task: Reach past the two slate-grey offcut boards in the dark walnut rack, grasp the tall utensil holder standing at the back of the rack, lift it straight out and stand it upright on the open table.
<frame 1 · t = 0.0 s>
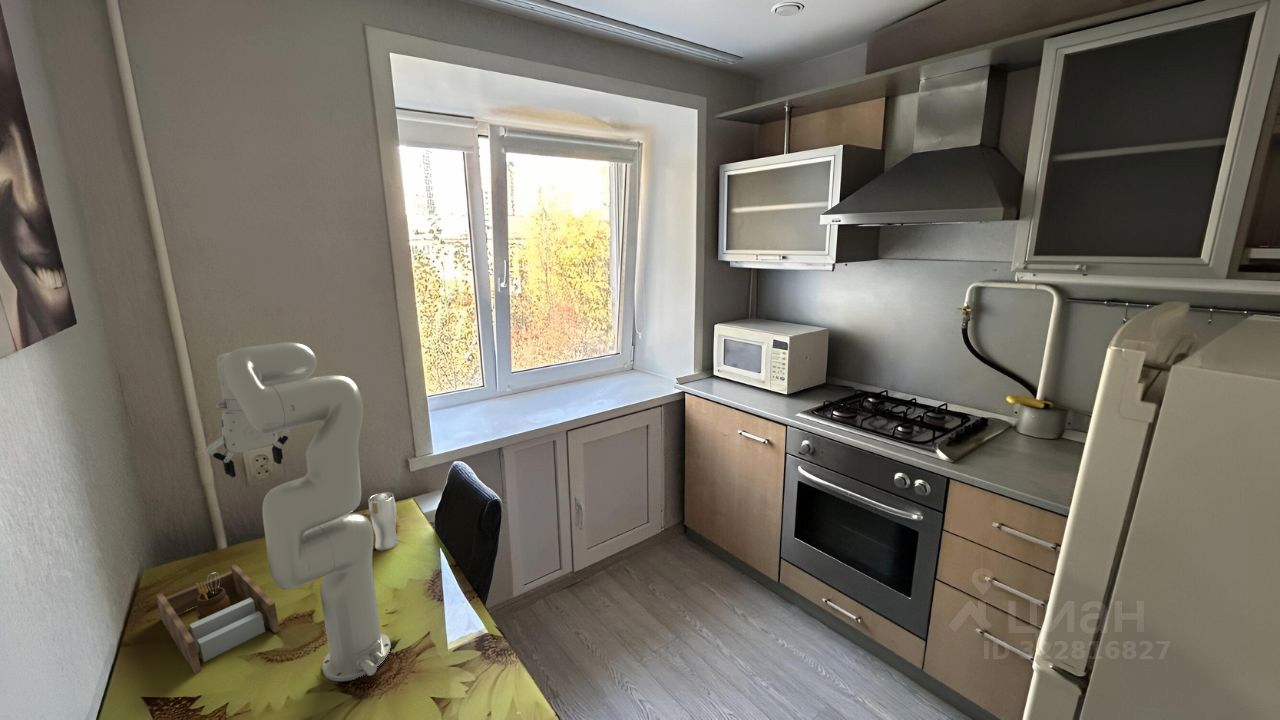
hand: (255, 469, 128), 31 cm above the table, tool pointing down, fingers open, 9 cm apart
rack: (220, 626, 118), on the table
offcut near: (227, 635, 115), on the table
utensil holder: (216, 621, 120), resting in rack
beer glass: (387, 545, 151), on the table
offcut front: (234, 644, 112), on the table
tin: (331, 531, 159), on the table
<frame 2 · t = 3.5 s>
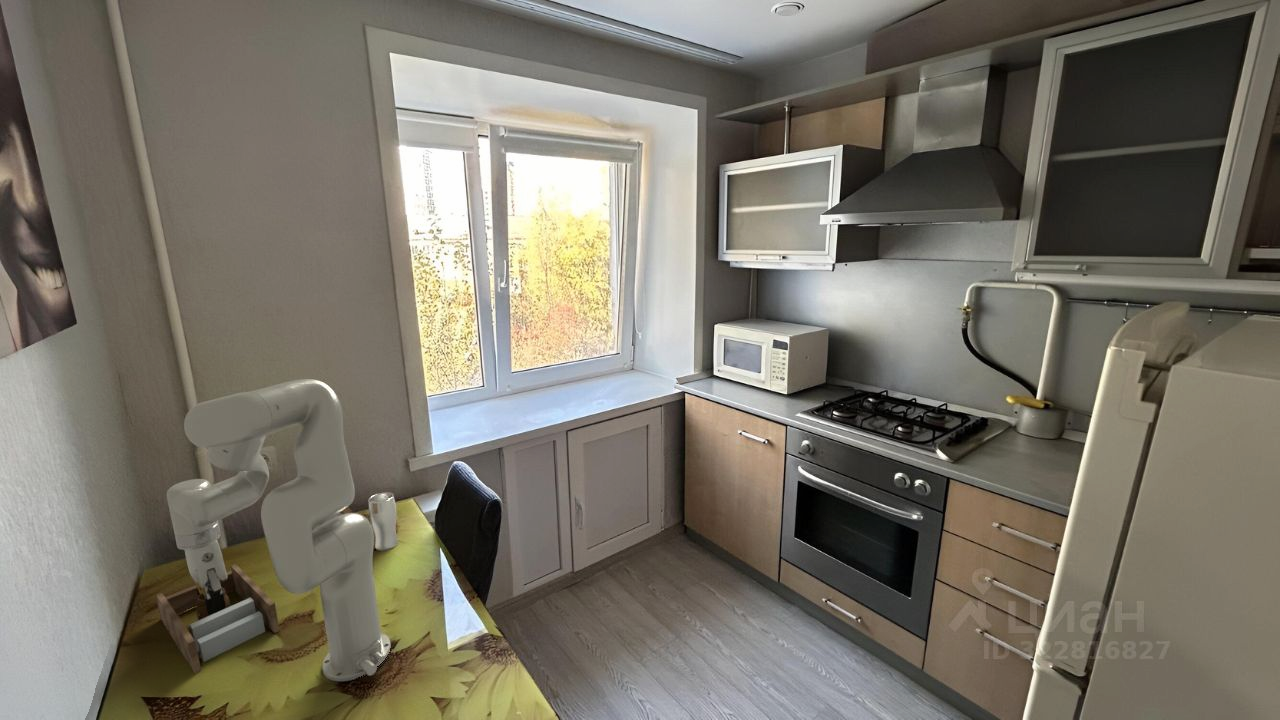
hand: (212, 605, 119), 4 cm above the table, tool pointing down, fingers closed on utensil holder, 5 cm apart
utensil holder: (216, 621, 120), resting in rack, touching gripper
everything else where it was.
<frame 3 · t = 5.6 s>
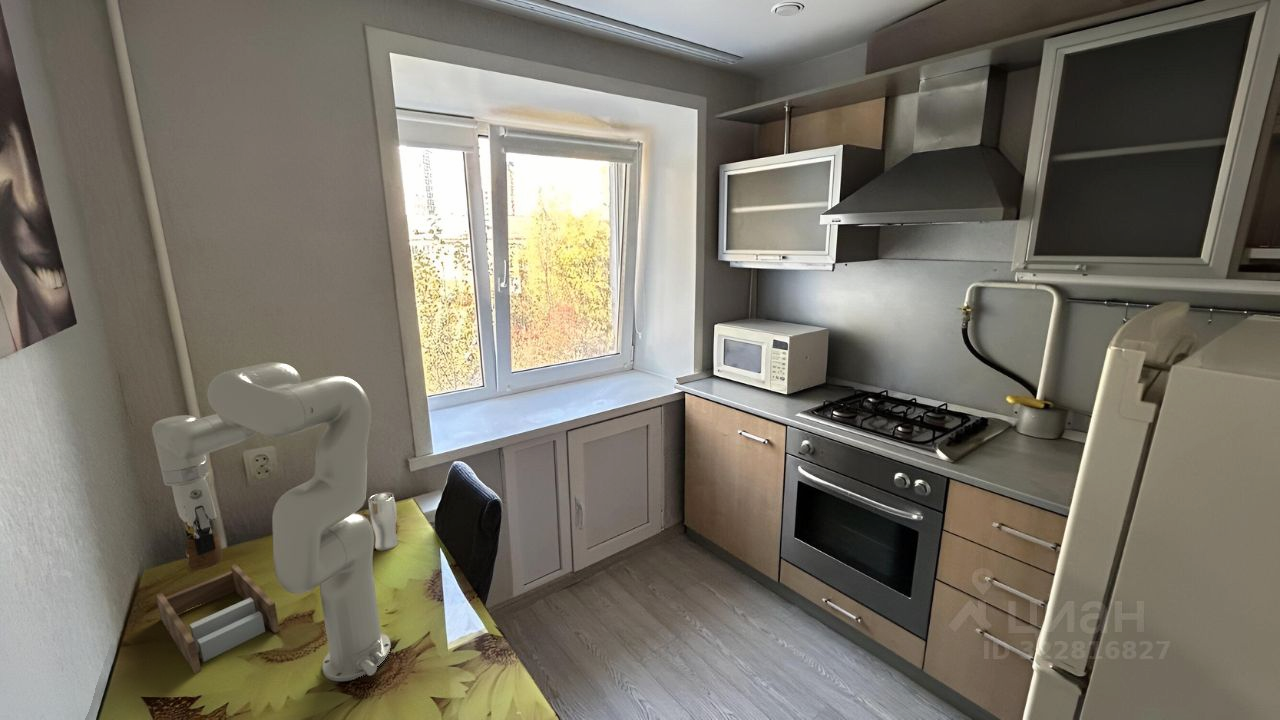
hand: (202, 547, 116), 19 cm above the table, tool pointing down, fingers closed on utensil holder, 5 cm apart
utensil holder: (206, 564, 117), point 15 cm above the table, touching gripper
everything else where it was.
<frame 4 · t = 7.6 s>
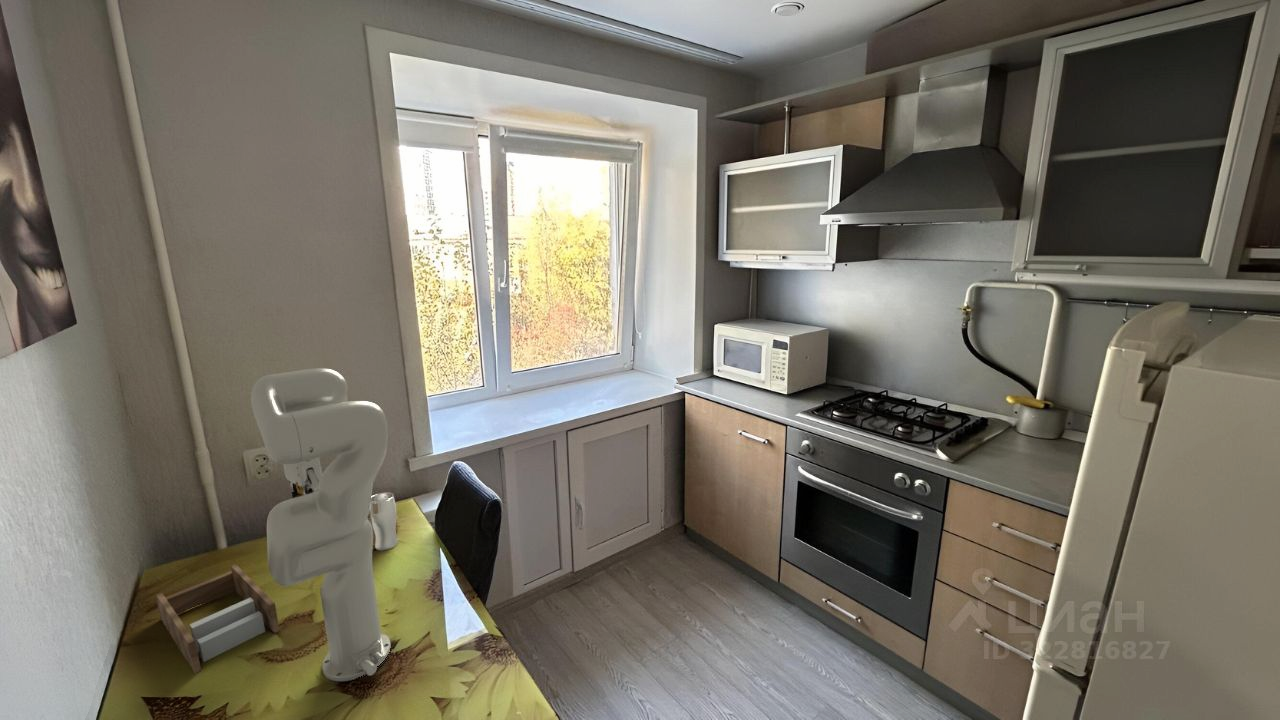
hand: (307, 507, 125), 23 cm above the table, tool pointing down, fingers closed on utensil holder, 5 cm apart
utensil holder: (310, 523, 126), point 19 cm above the table, touching gripper
everything else where it was.
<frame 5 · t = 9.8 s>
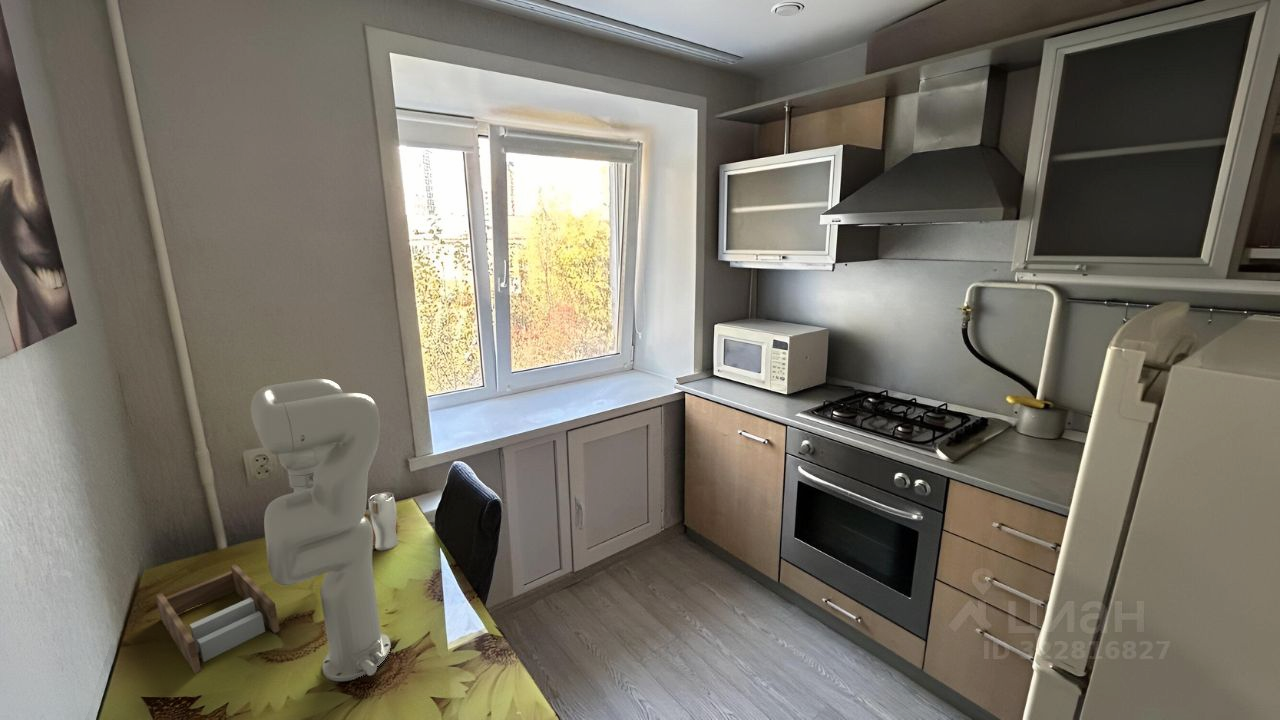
hand: (318, 543, 128), 13 cm above the table, tool pointing down, fingers closed on utensil holder, 5 cm apart
utensil holder: (321, 559, 129), point 9 cm above the table, touching gripper
everything else where it was.
when the fingers open (5 cm above the table, at t = 11.8 s): utensil holder stays where it is, on the table.
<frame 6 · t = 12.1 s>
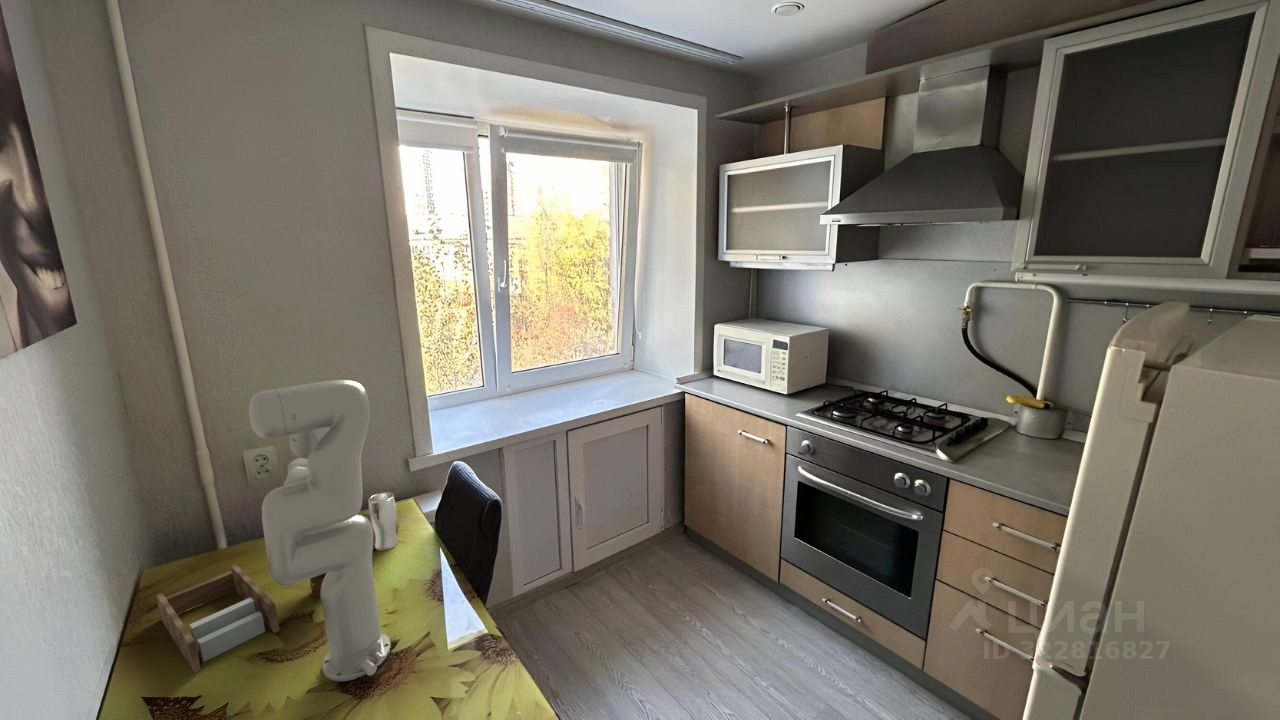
hand: (322, 570, 129), 6 cm above the table, tool pointing down, fingers open, 8 cm apart
utensil holder: (326, 591, 130), on the table
everything else where it was.
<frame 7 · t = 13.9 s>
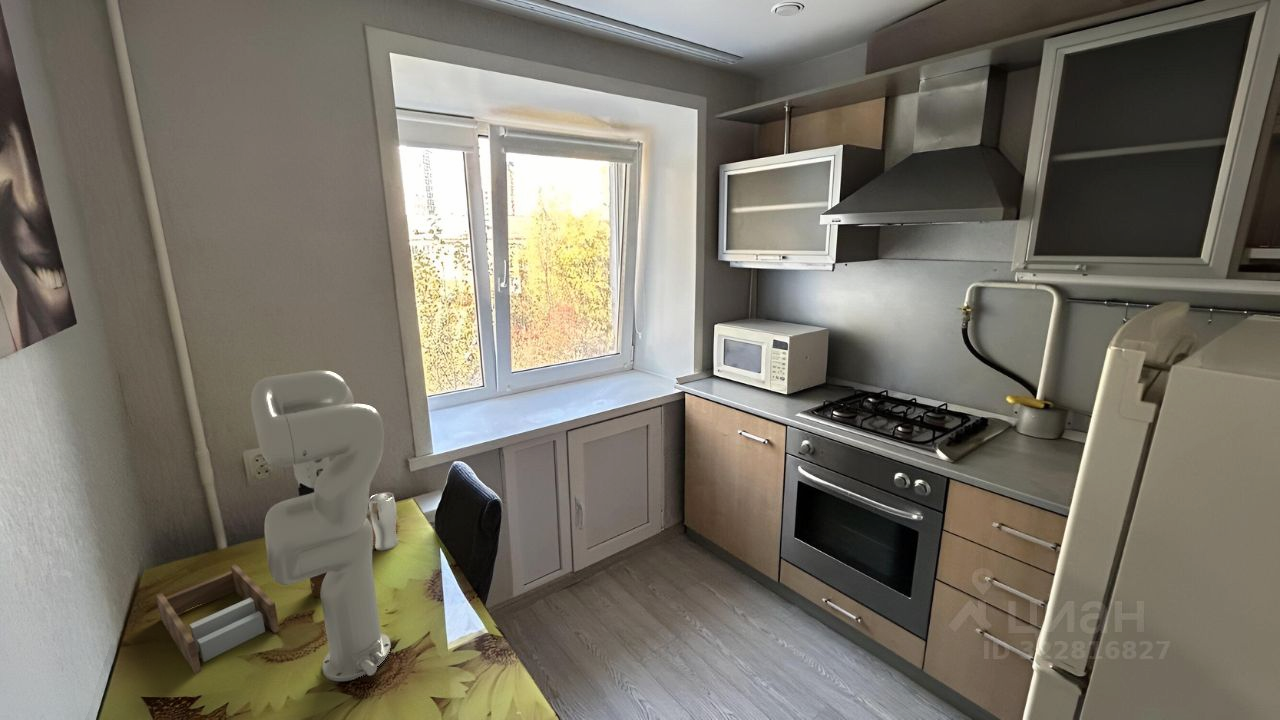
hand: (316, 505, 126), 23 cm above the table, tool pointing down, fingers open, 9 cm apart
nothing on the table moved.
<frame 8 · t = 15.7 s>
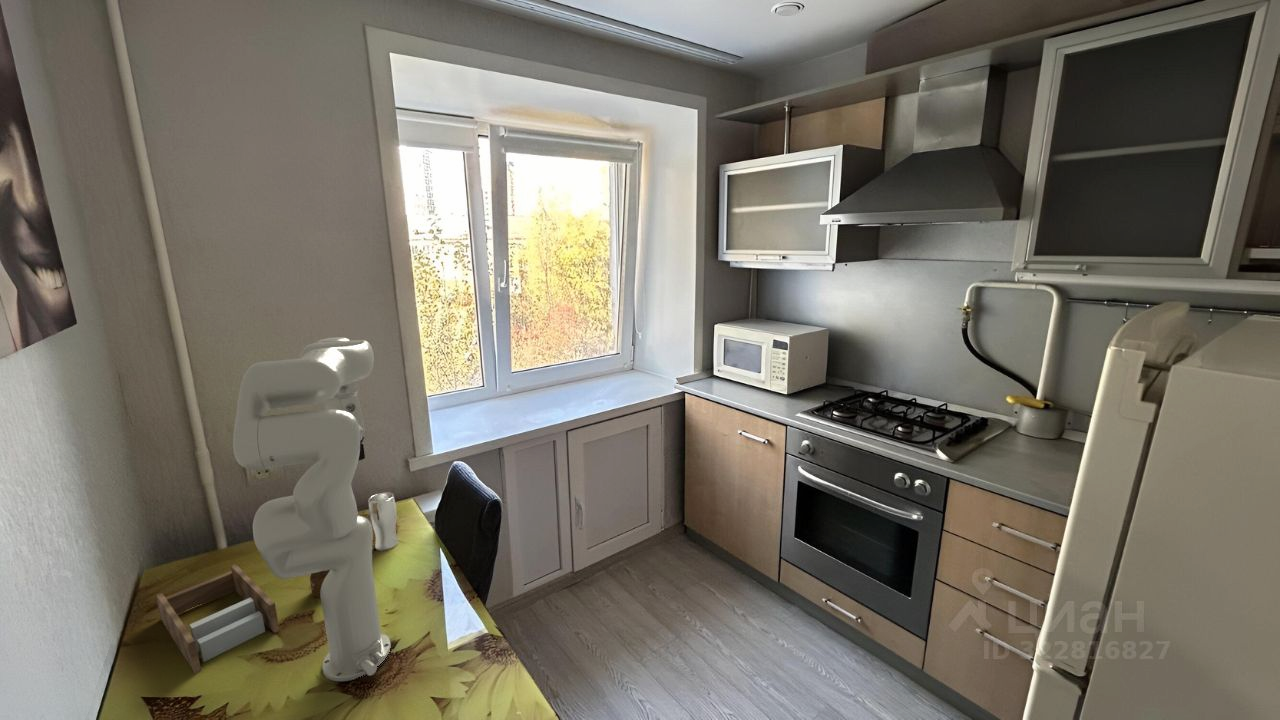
hand: (348, 456, 127), 34 cm above the table, tool pointing down, fingers open, 9 cm apart
nothing on the table moved.
at the end: utensil holder inside the target area (0.3 cm from its centre), on the table; utensil holder tilted 0°; offcut near moved 0.2 cm from its start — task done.
